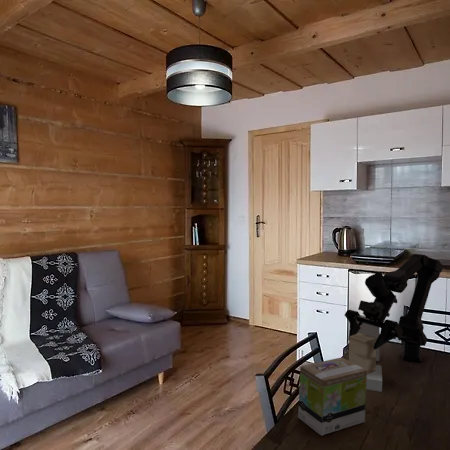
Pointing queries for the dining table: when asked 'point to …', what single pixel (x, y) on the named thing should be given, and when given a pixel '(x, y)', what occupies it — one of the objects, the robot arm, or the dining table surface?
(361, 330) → the skincare box
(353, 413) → the tea box
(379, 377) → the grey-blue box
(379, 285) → the robot arm
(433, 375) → the dining table surface
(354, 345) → the birch block
